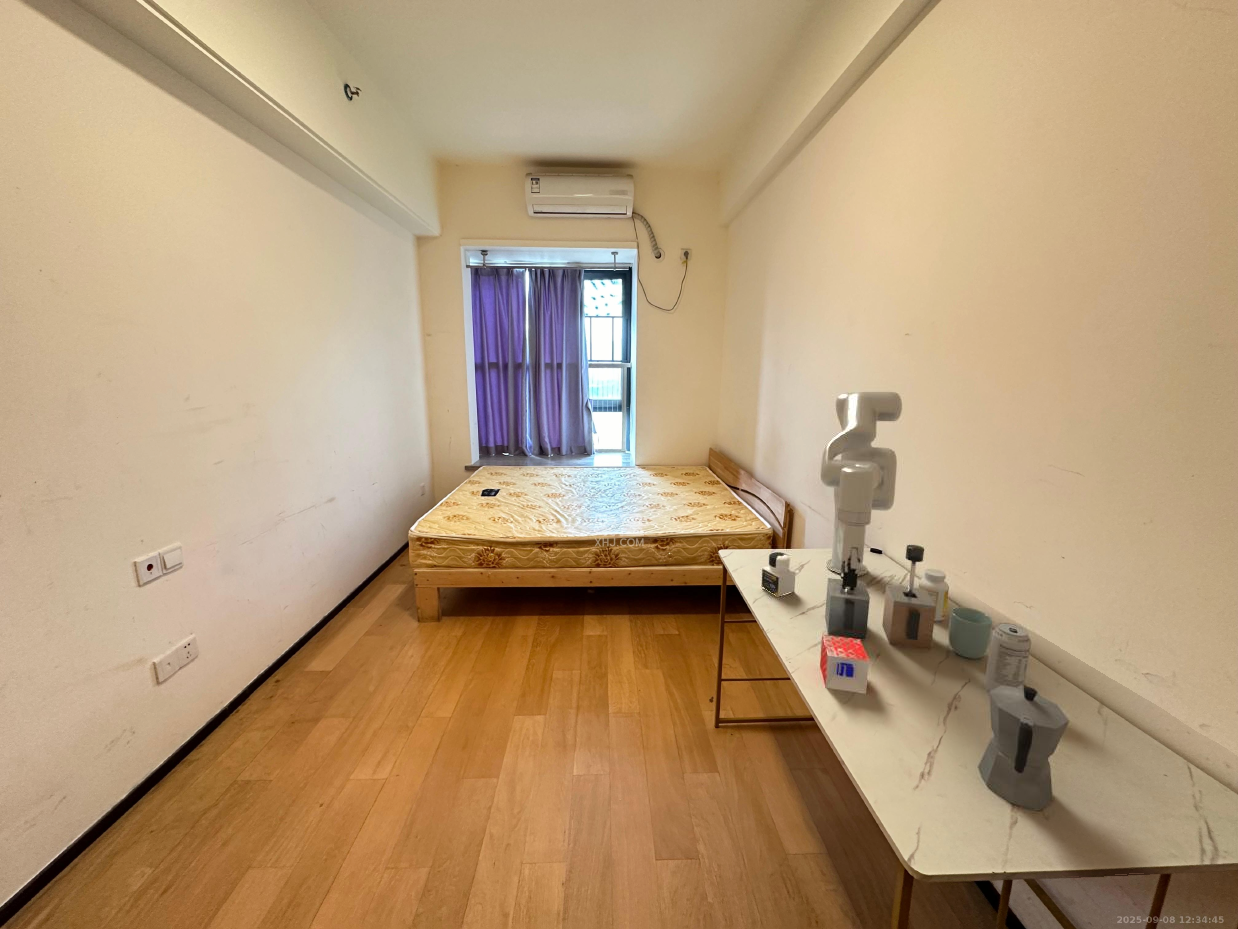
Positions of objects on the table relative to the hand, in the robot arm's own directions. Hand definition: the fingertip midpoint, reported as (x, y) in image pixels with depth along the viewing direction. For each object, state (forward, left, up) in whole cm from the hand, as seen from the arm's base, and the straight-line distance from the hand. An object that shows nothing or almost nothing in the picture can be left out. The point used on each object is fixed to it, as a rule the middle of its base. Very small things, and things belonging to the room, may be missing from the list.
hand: (848, 582), depth 117 cm
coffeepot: (+43, +20, -13) cm, 49 cm away
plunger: (0, +14, -5) cm, 15 cm away
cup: (+3, +26, -13) cm, 29 cm away
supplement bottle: (-14, +23, -13) cm, 30 cm away
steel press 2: (0, +14, -13) cm, 19 cm away
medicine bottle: (-17, -17, -13) cm, 28 cm away
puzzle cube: (+22, -3, -14) cm, 26 cm away
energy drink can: (+17, +28, -13) cm, 35 cm away
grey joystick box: (0, 0, -13) cm, 13 cm away
